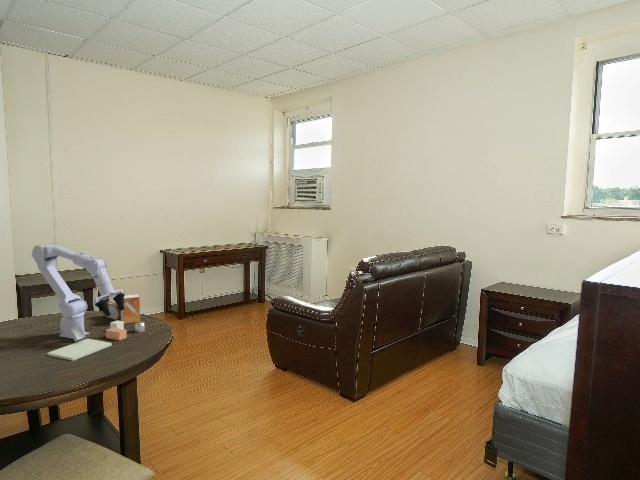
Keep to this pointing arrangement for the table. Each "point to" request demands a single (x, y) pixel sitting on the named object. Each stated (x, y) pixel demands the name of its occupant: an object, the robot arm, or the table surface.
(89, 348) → the board
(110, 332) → the terracotta brick
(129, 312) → the small box
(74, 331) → the grey-blue slab
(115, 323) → the off-white cube
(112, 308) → the tin
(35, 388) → the table surface
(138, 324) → the light grey cylinder
